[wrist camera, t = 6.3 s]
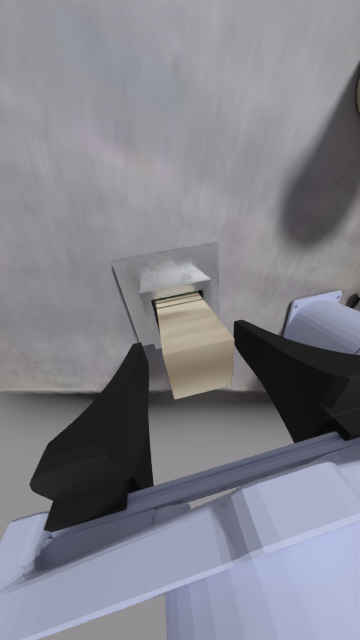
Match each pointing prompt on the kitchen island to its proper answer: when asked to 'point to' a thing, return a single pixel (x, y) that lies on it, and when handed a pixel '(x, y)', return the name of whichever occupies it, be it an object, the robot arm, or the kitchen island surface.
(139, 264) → the stand
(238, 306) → the kitchen island surface
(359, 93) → the flower pot
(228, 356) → the column
